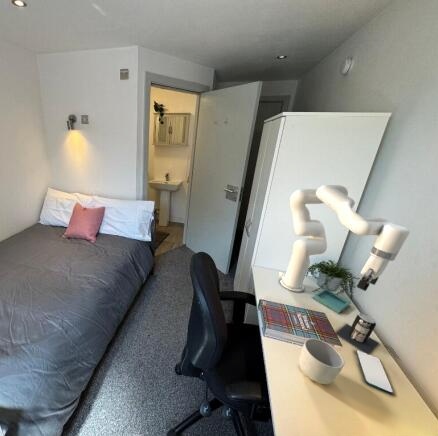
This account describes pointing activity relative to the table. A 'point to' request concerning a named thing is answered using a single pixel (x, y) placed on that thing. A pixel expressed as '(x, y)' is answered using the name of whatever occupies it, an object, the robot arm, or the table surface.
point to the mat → (363, 347)
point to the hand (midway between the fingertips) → (365, 285)
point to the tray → (332, 300)
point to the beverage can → (362, 327)
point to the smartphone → (373, 371)
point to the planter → (320, 361)
